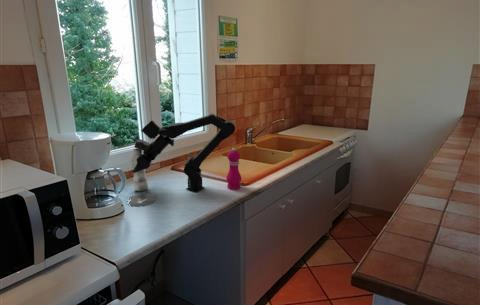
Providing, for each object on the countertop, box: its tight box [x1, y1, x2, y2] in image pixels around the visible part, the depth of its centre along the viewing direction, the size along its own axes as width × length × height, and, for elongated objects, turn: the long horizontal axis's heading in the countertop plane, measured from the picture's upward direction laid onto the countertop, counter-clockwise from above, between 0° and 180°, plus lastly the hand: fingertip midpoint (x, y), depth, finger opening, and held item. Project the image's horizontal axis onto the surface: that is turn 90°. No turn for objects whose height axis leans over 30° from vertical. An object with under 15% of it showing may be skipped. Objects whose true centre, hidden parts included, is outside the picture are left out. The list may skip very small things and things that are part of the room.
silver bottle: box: [130, 148, 149, 192], centre depth 148 cm, size 6×7×20 cm
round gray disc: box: [127, 193, 158, 208], centre depth 140 cm, size 13×13×1 cm
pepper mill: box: [225, 147, 242, 191], centre depth 152 cm, size 7×7×20 cm
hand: (135, 169), depth 147 cm, fingers open, 9 cm apart
